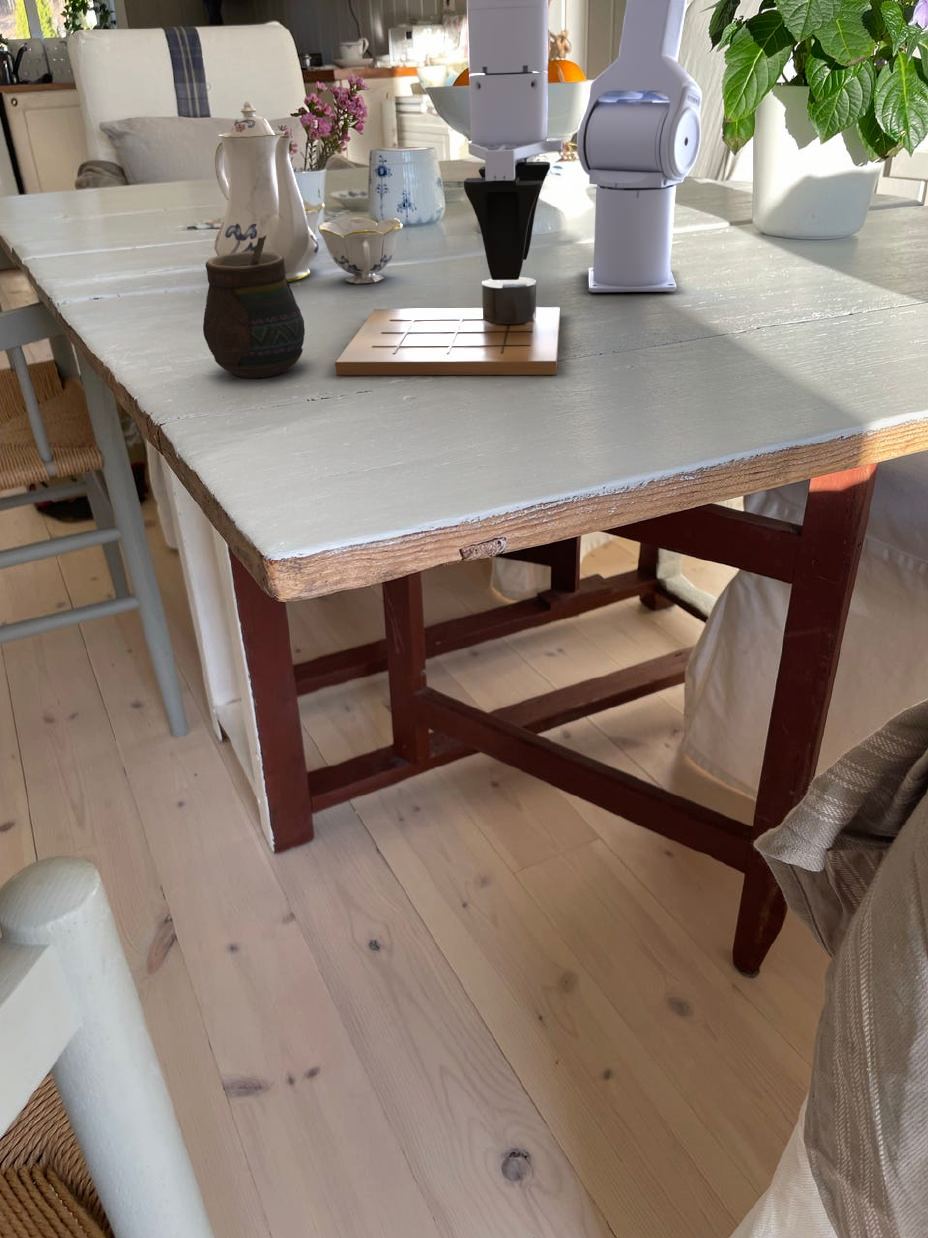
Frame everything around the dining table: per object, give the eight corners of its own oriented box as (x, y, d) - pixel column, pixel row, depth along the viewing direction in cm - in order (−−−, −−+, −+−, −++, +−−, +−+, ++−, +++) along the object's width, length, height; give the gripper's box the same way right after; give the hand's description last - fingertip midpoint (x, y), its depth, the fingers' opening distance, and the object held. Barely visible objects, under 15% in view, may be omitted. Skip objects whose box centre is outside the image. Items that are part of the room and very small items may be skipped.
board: (375, 320, 85) (374, 307, 84) (560, 318, 83) (560, 305, 82) (336, 375, 71) (334, 360, 70) (556, 374, 69) (556, 359, 69)
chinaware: (434, 294, 99) (440, 111, 92) (292, 305, 90) (286, 101, 82) (292, 259, 118) (288, 105, 111) (162, 265, 108) (147, 96, 101)
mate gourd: (274, 350, 77) (256, 216, 72) (331, 369, 72) (316, 225, 67) (194, 371, 73) (169, 230, 68) (248, 391, 68) (226, 241, 63)
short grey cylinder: (475, 323, 78) (474, 287, 77) (491, 310, 82) (490, 275, 80) (528, 325, 77) (528, 289, 76) (542, 312, 81) (542, 277, 79)
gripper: (558, 74, 64) (555, 288, 71) (567, 67, 76) (564, 250, 83) (452, 78, 65) (459, 289, 72) (478, 71, 77) (482, 251, 84)
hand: (510, 268), depth 77 cm, fingers open, 7 cm apart
